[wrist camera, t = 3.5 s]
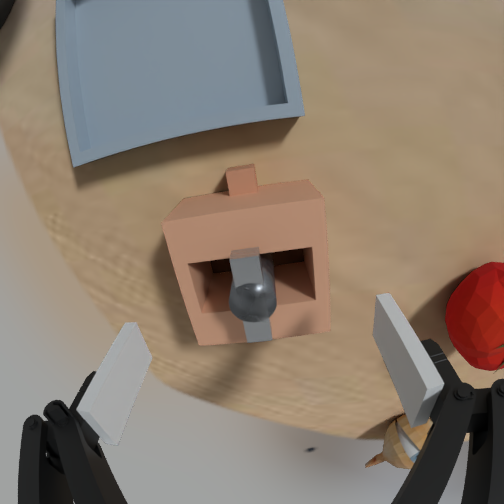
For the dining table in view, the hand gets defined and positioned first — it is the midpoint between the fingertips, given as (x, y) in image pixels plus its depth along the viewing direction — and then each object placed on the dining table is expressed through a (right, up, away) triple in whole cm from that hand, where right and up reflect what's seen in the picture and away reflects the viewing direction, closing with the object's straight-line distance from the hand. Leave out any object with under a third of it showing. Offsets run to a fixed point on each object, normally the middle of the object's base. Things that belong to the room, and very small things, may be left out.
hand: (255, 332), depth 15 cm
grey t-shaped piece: (0, +5, +10) cm, 11 cm away
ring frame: (0, +5, +10) cm, 11 cm away
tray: (-7, +21, +2) cm, 22 cm away
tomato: (+25, 0, +11) cm, 28 cm away
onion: (+23, -23, +22) cm, 39 cm away
